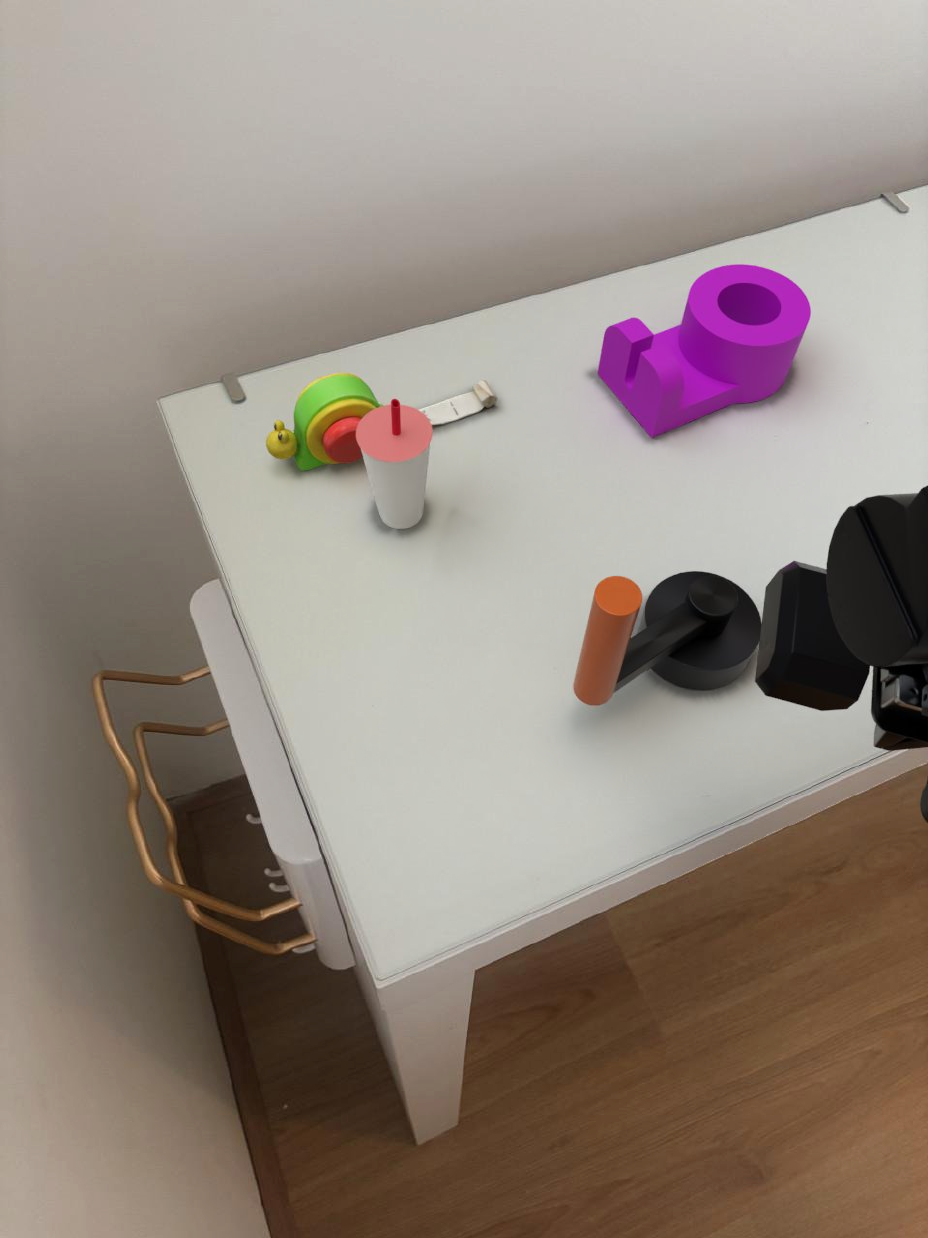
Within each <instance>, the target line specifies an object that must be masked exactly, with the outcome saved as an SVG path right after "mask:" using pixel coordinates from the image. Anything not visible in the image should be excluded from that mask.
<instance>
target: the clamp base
mask: <svg viewBox="0 0 928 1238" xmlns="http://www.w3.org/2000/svg"><path fill="white" fill-rule="evenodd" d="M703 576H717V577H720V578H723V579H725V580H726V581H728V582H729V583H730V584H731V585H732V586H733V587H734V589H735V590H736V593H737V598H738V600H737V605H736V607H735V609H734V611H733V613H732V615H731V617H730V619H729V621H728V623H727V626H726V627H725V629H724V630H723V631H722V632H720V633H719V634H717V635H714V636H701V635H697V636H696V637H695V638H693V639H692V640H690V641H689V642H687V643H686V644H684V645H683V646H681V647H680V648H679V649H677V650H676V651H674V652H673V653H671V654H670V655H668V656H667V657H665V658H664V659H663V660H661V661H660V662H658V663H657V664H655V665H654V666H652V667H651V668H650V669H651V670H652V671H653V672H654V673H655V674H656V675H657V676H658V677H660V678H661V679H663V680H664V681H666V682H668V683H670V684H671V685H674V686H677V687H679V688H683V689H686V690H693V691H710V690H711V691H712V690H716V689H719V688H722V687H725V686H727V685H729V684H731V683H733V681H735V680H736V679H738V677H740V676H741V675H742V673H743V672H744V671H745V669H746V667H747V665H748V663H749V662H750V660H751V658H752V656H753V654H754V653H755V651H756V649H757V647H758V646H759V641H760V632H761V624H762V617H761V614H760V611H759V609H758V607H757V605H756V603H755V602H754V600H753V599H752V598H751V596H750V595H749V594H748V592H746V591H745V589H743V588H742V587H741V586H739V585H738V584H737V583H736V582H733V580H730V579H729V578H727V577H725V576H723V575H719V574H716V573H712V572H710V571H709V572H708V571H698V570H691V571H683V572H679V573H676V574H672V575H670V576H667V577H666V578H665V579H663V580H661V581H660V582H659V583H657V585H655V586H654V588H653V589H652V590H651V592H650V593H649V595H648V597H647V599H646V602H645V604H644V608H643V610H642V614H641V617H640V619H639V623H638V626H637V627H638V628H637V634H638V633H639V632H641V631H642V630H644V629H645V628H647V627H648V626H650V625H651V624H653V623H654V622H656V621H657V620H659V619H660V618H662V617H663V616H665V615H666V614H668V613H669V612H671V611H672V610H674V609H675V608H677V607H678V606H680V605H681V604H683V603H684V601H685V598H686V596H687V593H688V591H689V588H690V586H691V584H692V583H693V582H694V581H695V580H696V579H698V578H700V577H703Z"/></svg>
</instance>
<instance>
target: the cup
mask: <svg viewBox="0 0 928 1238" xmlns="http://www.w3.org/2000/svg"><path fill="white" fill-rule="evenodd" d="M433 434H434V431H433V425H431V423H430V421H429V419H428V418H427V417H426V416H425V415H424V414H423V413H422V412H420V411H419V409H417V408H415V407H412V406H410V405H405V404H401V402H400V401H399V399H397V398H392V399H391V401H390V404H386V405H384V406H382V407H379V408H376V409H374V410H372V411H370V412H369V413H367V414H366V415H365V416H364V417H363V418H362V419H361V420H360V422H359V424H358V426H357V429H356V440H357V443H358V445H359V446H360V448H361V451H362V455H363V458H362V459H363V462H364V466H365V469H366V472H367V476H368V481H369V483H370V487H371V490H372V494H373V498H374V501H375V504H376V508H377V511H378V514H379V517H380V520H381V521H382V522H383V524H384V525H386V526H387V527H389V528H392V529H396V530H405V529H409V528H412V527H414V526H415V525H417V524H419V522H420V521H421V519H422V518H423V515H424V509H425V508H424V507H425V499H426V490H427V479H428V469H429V460H430V459H429V458H430V447H431V442H432V439H433V436H434V435H433Z"/></svg>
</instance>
